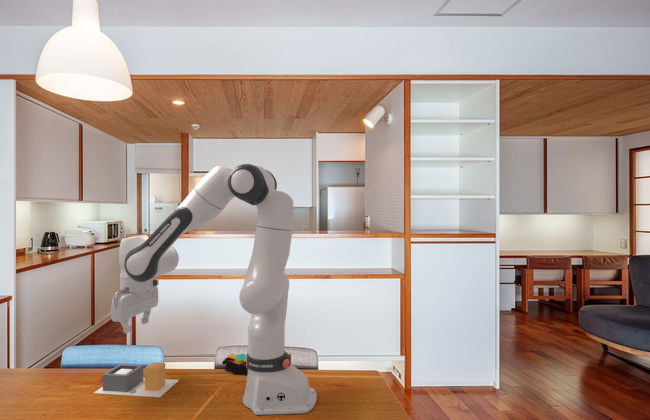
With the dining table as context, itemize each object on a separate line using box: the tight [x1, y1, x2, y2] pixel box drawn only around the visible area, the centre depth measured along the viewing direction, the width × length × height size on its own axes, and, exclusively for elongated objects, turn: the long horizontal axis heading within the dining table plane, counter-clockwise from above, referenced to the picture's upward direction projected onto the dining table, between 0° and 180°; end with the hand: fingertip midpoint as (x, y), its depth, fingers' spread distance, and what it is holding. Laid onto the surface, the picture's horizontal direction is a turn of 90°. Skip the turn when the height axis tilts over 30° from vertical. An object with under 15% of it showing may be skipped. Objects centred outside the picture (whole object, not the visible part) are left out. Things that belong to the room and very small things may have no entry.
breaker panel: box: [93, 363, 180, 398], centre depth 127 cm, size 22×12×6 cm, turn 83°
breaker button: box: [114, 369, 133, 375], centre depth 127 cm, size 4×4×4 cm
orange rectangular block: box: [144, 362, 166, 391], centre depth 126 cm, size 4×4×7 cm
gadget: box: [221, 352, 248, 375], centre depth 140 cm, size 6×13×6 cm, turn 77°
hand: (136, 327), depth 127 cm, fingers open, 8 cm apart
